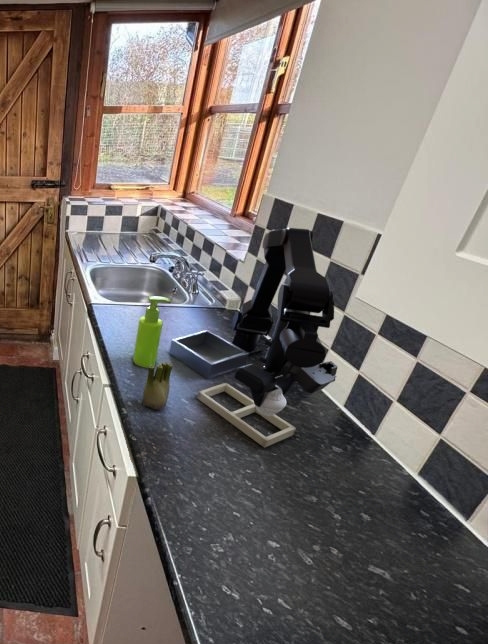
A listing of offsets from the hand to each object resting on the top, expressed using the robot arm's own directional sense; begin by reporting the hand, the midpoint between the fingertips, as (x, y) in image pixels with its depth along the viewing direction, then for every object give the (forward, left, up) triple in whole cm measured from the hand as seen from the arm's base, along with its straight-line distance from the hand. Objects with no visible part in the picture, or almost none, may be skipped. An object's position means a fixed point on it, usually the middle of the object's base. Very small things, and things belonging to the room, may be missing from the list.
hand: (267, 401), depth 87 cm
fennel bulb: (+16, -15, -7) cm, 23 cm away
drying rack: (0, -4, -7) cm, 8 cm away
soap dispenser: (+5, -30, -7) cm, 31 cm away
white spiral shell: (0, 0, -3) cm, 3 cm away
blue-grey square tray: (-11, -24, -7) cm, 27 cm away
